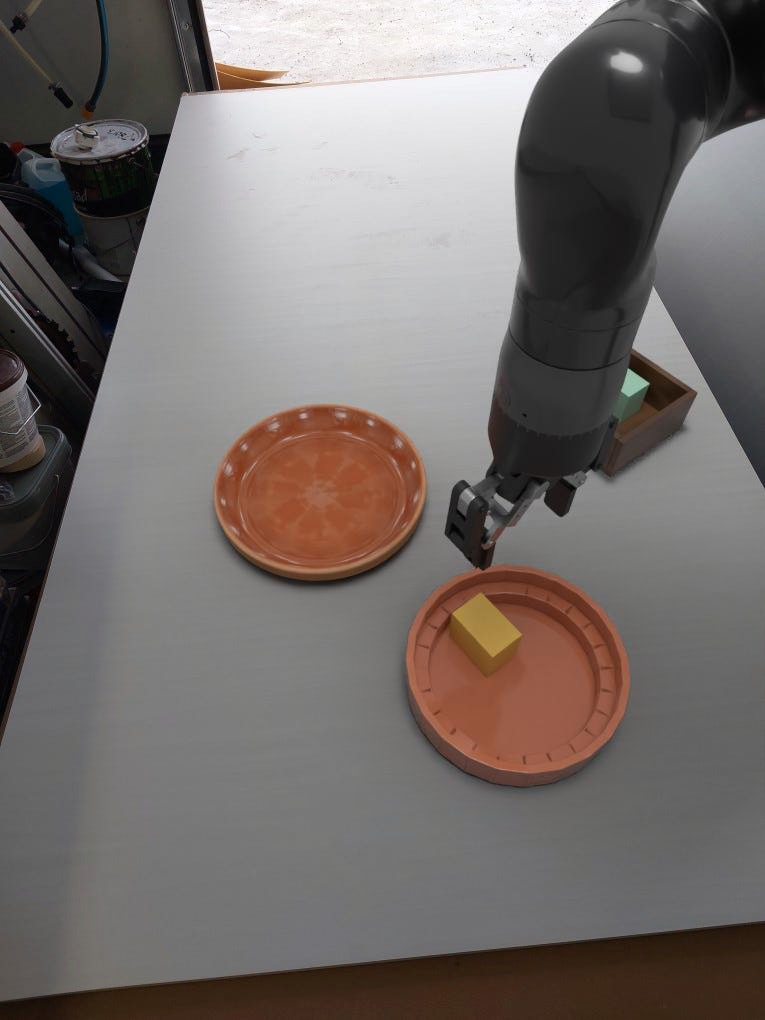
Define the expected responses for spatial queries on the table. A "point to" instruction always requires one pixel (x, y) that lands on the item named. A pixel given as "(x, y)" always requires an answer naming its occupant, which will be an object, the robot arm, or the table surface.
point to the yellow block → (484, 634)
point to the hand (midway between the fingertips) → (517, 534)
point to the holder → (649, 414)
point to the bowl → (519, 679)
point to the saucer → (320, 492)
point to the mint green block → (630, 396)
